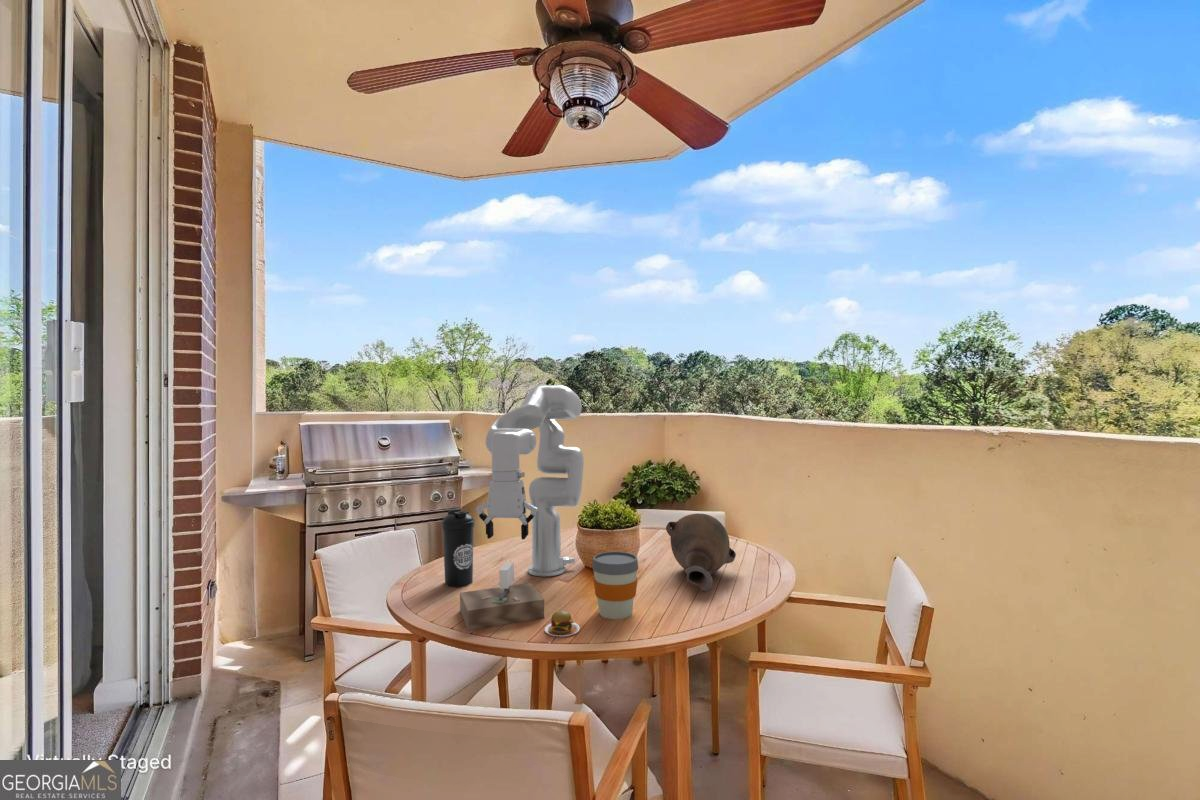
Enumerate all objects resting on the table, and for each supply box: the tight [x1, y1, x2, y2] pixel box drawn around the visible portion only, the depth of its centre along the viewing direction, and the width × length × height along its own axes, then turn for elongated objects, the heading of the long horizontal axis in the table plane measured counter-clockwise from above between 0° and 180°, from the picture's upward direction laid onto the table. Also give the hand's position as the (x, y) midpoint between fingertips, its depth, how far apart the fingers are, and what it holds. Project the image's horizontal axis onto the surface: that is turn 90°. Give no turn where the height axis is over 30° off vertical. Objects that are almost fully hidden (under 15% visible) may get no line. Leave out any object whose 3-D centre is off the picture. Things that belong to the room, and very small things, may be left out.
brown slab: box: [459, 582, 545, 631], centre depth 153 cm, size 20×14×5 cm
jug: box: [665, 513, 737, 592], centre depth 181 cm, size 20×20×30 cm
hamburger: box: [544, 609, 581, 638], centre depth 142 cm, size 12×12×6 cm
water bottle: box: [441, 508, 476, 588], centre depth 179 cm, size 10×10×23 cm
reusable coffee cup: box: [592, 551, 639, 620], centre depth 153 cm, size 12×13×15 cm
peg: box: [498, 561, 515, 599], centre depth 154 cm, size 10×2×7 cm, turn 175°
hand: (507, 537), depth 156 cm, fingers open, 9 cm apart
